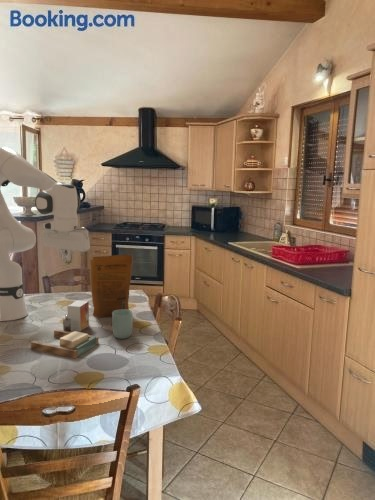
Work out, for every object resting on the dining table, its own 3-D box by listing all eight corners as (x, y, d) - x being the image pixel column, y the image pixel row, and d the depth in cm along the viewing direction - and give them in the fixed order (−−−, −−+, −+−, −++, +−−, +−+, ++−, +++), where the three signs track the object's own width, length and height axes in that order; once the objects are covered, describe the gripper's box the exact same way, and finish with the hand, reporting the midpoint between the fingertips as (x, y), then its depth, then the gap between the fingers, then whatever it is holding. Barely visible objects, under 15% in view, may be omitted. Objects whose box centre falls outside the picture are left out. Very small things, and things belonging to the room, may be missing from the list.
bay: (30, 348, 140) (30, 340, 140) (56, 335, 153) (56, 327, 153) (75, 358, 134) (75, 349, 133) (98, 343, 147) (98, 335, 146)
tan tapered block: (60, 351, 139) (59, 338, 138) (75, 343, 146) (75, 331, 145) (73, 355, 137) (72, 341, 136) (88, 347, 144) (88, 334, 143)
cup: (113, 341, 149) (113, 316, 147) (111, 333, 156) (111, 309, 154) (133, 339, 151) (133, 314, 149) (131, 332, 158) (131, 308, 156)
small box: (80, 332, 157) (80, 306, 155) (67, 330, 158) (67, 305, 156) (89, 325, 165) (89, 301, 163) (77, 324, 166) (76, 300, 164)
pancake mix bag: (133, 316, 177) (133, 255, 172) (90, 319, 172) (89, 256, 167) (131, 311, 183) (132, 252, 179) (89, 314, 178) (88, 253, 174)
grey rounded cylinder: (61, 334, 154) (61, 315, 152) (66, 332, 156) (65, 313, 155) (67, 336, 153) (67, 316, 151) (72, 333, 155) (72, 314, 154)
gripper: (93, 226, 151) (93, 262, 153) (50, 222, 158) (51, 256, 161) (83, 228, 145) (83, 265, 147) (39, 223, 152) (40, 258, 155)
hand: (66, 260), depth 154 cm, fingers closed
